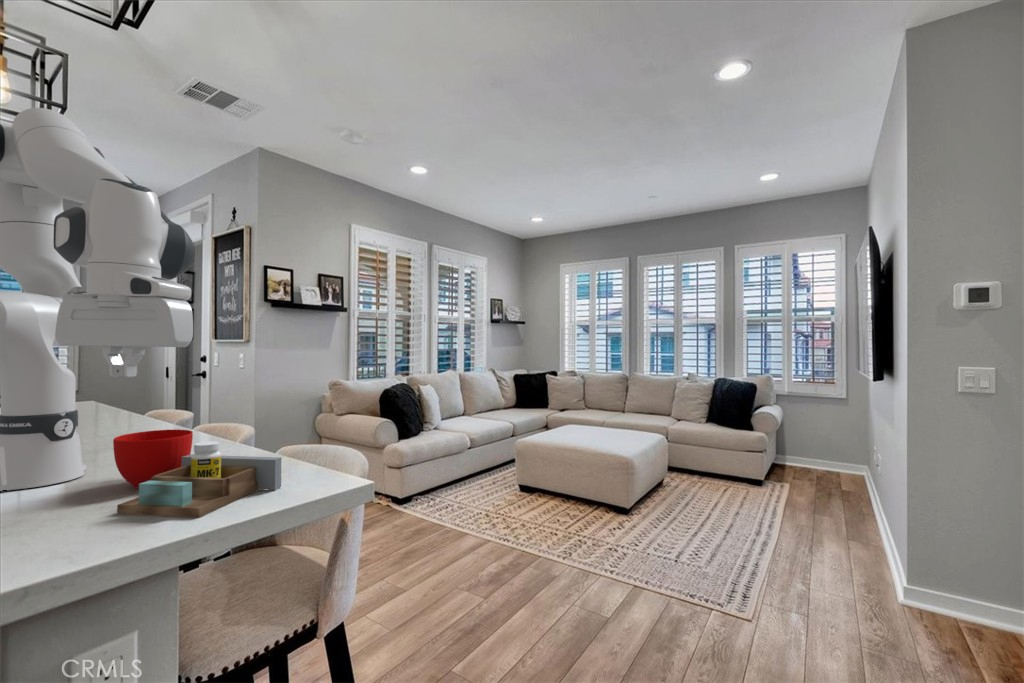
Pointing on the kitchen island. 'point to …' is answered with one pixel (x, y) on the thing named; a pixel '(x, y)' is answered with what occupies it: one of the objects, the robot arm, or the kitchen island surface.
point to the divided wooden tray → (190, 492)
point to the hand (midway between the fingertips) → (123, 376)
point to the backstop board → (265, 466)
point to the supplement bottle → (206, 460)
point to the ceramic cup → (150, 453)
